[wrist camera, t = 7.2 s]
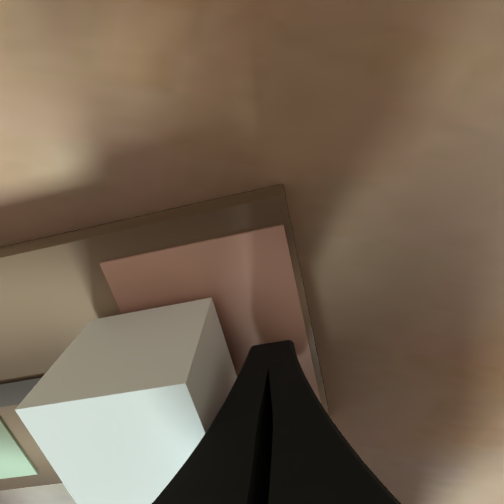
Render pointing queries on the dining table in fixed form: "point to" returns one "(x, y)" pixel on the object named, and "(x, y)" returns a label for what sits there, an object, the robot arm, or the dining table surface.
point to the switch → (147, 296)
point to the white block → (131, 401)
